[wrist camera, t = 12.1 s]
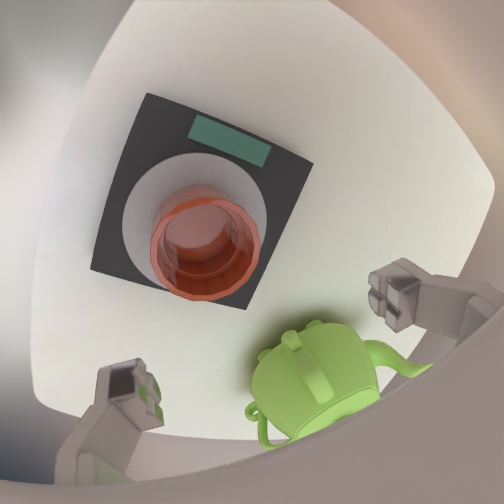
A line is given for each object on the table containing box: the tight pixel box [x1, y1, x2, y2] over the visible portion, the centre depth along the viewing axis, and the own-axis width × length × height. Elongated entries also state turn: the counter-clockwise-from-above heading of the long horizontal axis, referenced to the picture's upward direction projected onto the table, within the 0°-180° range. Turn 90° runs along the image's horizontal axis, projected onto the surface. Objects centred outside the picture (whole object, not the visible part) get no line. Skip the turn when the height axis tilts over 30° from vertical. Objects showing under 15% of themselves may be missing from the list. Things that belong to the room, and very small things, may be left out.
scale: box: [90, 93, 313, 310], centre depth 22 cm, size 14×14×3 cm
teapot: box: [245, 320, 434, 451], centre depth 28 cm, size 16×14×13 cm
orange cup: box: [150, 185, 261, 301], centre depth 19 cm, size 7×7×5 cm
